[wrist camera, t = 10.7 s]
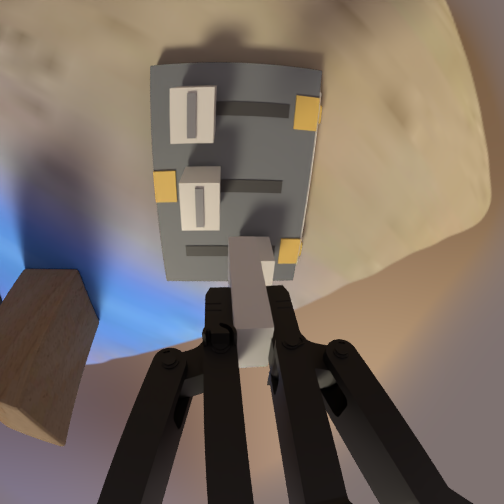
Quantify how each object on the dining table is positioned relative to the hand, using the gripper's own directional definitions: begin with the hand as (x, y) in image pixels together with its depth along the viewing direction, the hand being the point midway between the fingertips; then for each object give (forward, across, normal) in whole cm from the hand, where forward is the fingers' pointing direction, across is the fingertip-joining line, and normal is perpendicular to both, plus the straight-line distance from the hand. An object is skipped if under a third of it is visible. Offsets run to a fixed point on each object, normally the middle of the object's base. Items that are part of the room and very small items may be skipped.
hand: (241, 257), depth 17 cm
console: (+13, 0, 0) cm, 13 cm away
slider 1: (+10, -3, +7) cm, 13 cm away
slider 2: (+10, -3, 0) cm, 11 cm away
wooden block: (+14, -24, -16) cm, 32 cm away
